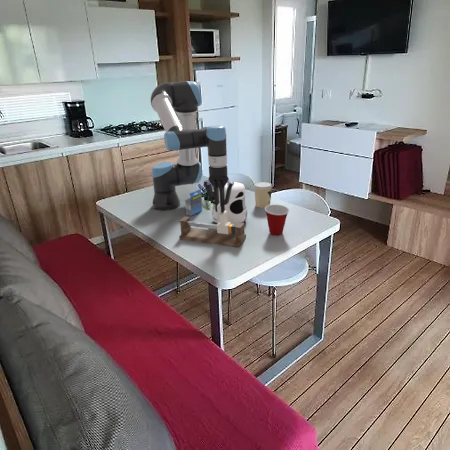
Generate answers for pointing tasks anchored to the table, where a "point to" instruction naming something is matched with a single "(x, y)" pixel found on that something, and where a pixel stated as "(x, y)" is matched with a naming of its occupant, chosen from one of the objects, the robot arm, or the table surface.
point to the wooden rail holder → (212, 235)
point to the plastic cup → (276, 218)
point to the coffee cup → (262, 194)
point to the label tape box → (194, 203)
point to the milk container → (234, 205)
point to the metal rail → (211, 226)
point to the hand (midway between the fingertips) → (220, 218)
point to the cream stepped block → (223, 224)
